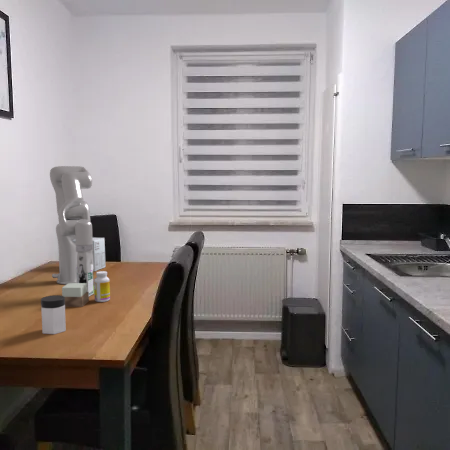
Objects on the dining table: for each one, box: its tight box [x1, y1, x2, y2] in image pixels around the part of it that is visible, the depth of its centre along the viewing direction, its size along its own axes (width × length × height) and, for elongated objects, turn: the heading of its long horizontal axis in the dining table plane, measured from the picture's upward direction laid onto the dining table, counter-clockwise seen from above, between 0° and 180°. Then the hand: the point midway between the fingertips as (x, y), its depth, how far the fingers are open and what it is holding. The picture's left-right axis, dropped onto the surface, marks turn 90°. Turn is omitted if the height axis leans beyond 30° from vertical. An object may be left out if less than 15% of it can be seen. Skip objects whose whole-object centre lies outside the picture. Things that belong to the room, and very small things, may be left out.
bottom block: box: [65, 292, 90, 308], centre depth 200 cm, size 9×9×4 cm
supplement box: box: [72, 237, 106, 272], centre depth 272 cm, size 17×13×18 cm
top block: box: [61, 283, 87, 297], centre depth 200 cm, size 8×8×4 cm
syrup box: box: [76, 264, 95, 297], centre depth 213 cm, size 6×6×14 cm
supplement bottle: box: [94, 270, 111, 303], centre depth 205 cm, size 7×7×13 cm
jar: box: [40, 294, 67, 335], centre depth 166 cm, size 9×8×12 cm
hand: (85, 285), depth 214 cm, fingers closed on syrup box, 6 cm apart
